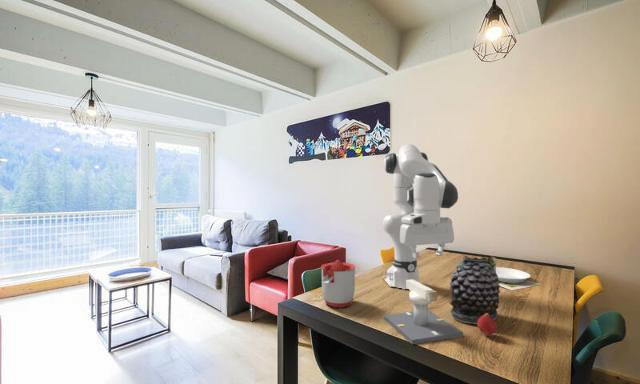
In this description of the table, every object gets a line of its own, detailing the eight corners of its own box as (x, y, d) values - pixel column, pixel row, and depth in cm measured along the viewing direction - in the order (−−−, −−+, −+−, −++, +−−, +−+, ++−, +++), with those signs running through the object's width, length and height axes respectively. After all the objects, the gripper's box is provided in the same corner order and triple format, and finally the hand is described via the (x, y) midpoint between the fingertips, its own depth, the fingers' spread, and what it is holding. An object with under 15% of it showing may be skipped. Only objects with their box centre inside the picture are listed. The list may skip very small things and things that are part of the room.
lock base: (383, 319, 114) (383, 295, 114) (427, 313, 119) (427, 290, 119) (412, 344, 95) (411, 315, 95) (463, 336, 100) (462, 308, 100)
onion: (473, 332, 103) (473, 309, 103) (489, 331, 103) (488, 309, 103) (484, 340, 97) (484, 316, 97) (500, 339, 97) (500, 316, 97)
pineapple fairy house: (478, 307, 125) (477, 249, 125) (511, 321, 111) (510, 256, 111) (440, 314, 118) (439, 253, 118) (470, 331, 104) (469, 261, 104)
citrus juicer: (311, 305, 129) (311, 261, 129) (335, 294, 142) (334, 254, 142) (340, 314, 119) (339, 266, 119) (362, 302, 132) (361, 258, 132)
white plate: (472, 278, 167) (472, 272, 167) (487, 270, 184) (486, 264, 184) (524, 288, 148) (524, 281, 148) (535, 278, 165) (534, 272, 165)
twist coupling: (400, 294, 113) (400, 280, 113) (418, 293, 115) (418, 278, 115) (423, 309, 99) (422, 293, 99) (443, 307, 101) (442, 290, 101)
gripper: (445, 216, 109) (446, 252, 109) (397, 218, 104) (397, 256, 103) (457, 217, 103) (458, 256, 102) (406, 219, 97) (407, 260, 97)
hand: (427, 256), depth 103 cm, fingers open, 8 cm apart
